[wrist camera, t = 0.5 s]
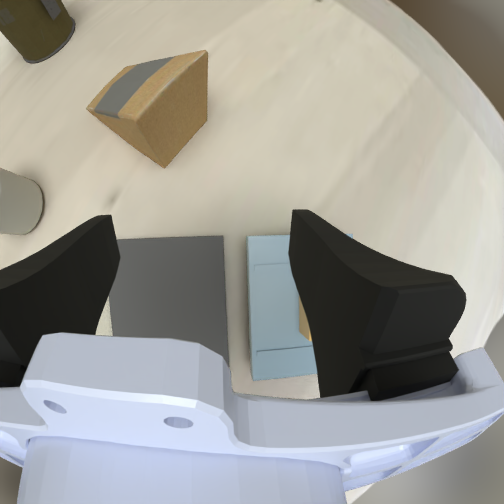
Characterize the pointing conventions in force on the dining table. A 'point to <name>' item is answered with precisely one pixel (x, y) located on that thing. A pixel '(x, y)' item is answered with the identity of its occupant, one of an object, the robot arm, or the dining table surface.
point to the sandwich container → (156, 104)
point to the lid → (276, 312)
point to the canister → (36, 27)
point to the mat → (171, 291)
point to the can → (18, 203)
